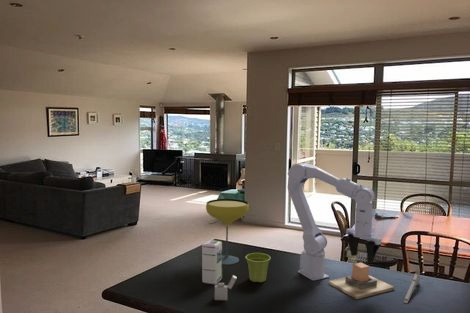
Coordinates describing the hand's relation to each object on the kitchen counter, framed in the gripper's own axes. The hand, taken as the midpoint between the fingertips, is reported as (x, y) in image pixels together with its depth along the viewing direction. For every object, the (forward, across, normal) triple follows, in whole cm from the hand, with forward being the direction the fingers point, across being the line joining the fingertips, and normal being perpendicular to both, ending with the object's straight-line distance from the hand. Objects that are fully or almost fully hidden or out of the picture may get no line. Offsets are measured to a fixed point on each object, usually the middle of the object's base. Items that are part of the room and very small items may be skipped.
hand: (361, 258), depth 132 cm
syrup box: (+11, -28, -46) cm, 55 cm away
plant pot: (+11, -22, -31) cm, 39 cm away
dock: (+10, 0, 0) cm, 10 cm away
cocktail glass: (+11, -44, -32) cm, 56 cm away
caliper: (+11, +12, +13) cm, 20 cm away
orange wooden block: (+9, 0, 0) cm, 9 cm away
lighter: (+11, -12, -49) cm, 51 cm away
